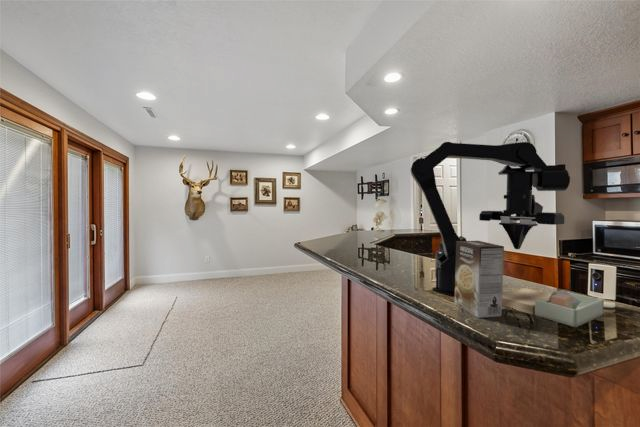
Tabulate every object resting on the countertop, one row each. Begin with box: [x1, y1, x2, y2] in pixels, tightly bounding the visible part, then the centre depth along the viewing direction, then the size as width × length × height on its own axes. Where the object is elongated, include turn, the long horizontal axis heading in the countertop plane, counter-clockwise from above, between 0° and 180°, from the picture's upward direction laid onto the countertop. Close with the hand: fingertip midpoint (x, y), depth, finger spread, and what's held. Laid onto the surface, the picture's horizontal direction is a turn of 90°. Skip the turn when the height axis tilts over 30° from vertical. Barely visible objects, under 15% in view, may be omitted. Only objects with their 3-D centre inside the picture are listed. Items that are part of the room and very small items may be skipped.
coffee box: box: [453, 240, 505, 319], centre depth 71 cm, size 9×6×16 cm
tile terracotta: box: [551, 294, 573, 309], centre depth 68 cm, size 4×4×2 cm
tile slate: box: [548, 289, 581, 309], centre depth 71 cm, size 4×4×2 cm
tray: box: [534, 291, 605, 328], centre depth 68 cm, size 8×14×4 cm, turn 120°
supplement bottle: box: [434, 241, 444, 278], centre depth 100 cm, size 7×7×12 cm
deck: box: [502, 287, 552, 315], centre depth 76 cm, size 9×14×2 cm, turn 120°
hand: (517, 249), depth 81 cm, fingers closed
